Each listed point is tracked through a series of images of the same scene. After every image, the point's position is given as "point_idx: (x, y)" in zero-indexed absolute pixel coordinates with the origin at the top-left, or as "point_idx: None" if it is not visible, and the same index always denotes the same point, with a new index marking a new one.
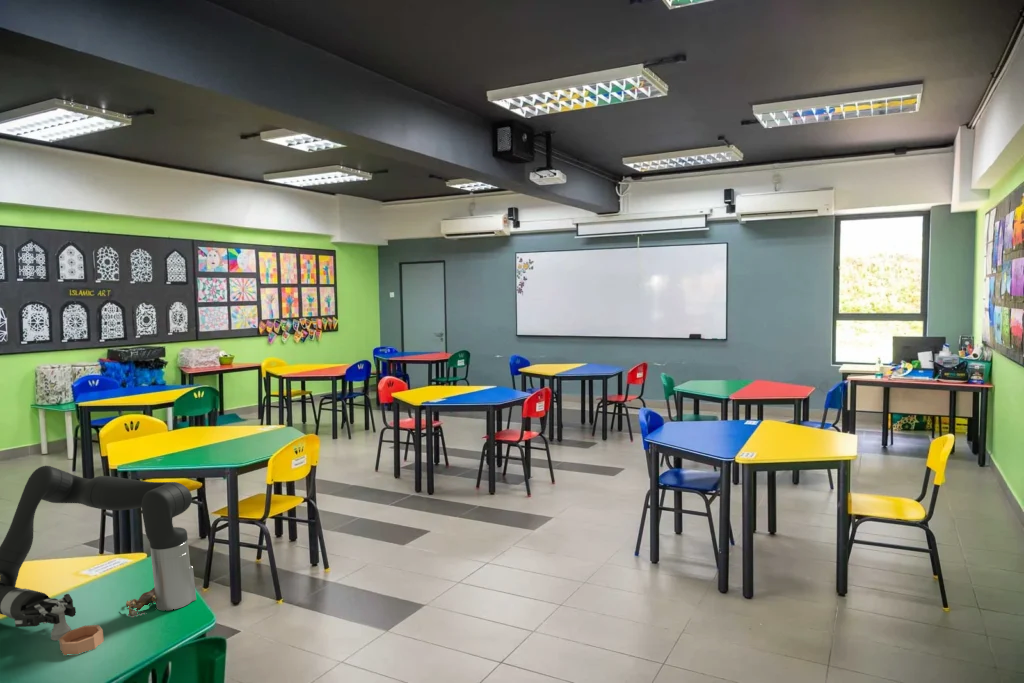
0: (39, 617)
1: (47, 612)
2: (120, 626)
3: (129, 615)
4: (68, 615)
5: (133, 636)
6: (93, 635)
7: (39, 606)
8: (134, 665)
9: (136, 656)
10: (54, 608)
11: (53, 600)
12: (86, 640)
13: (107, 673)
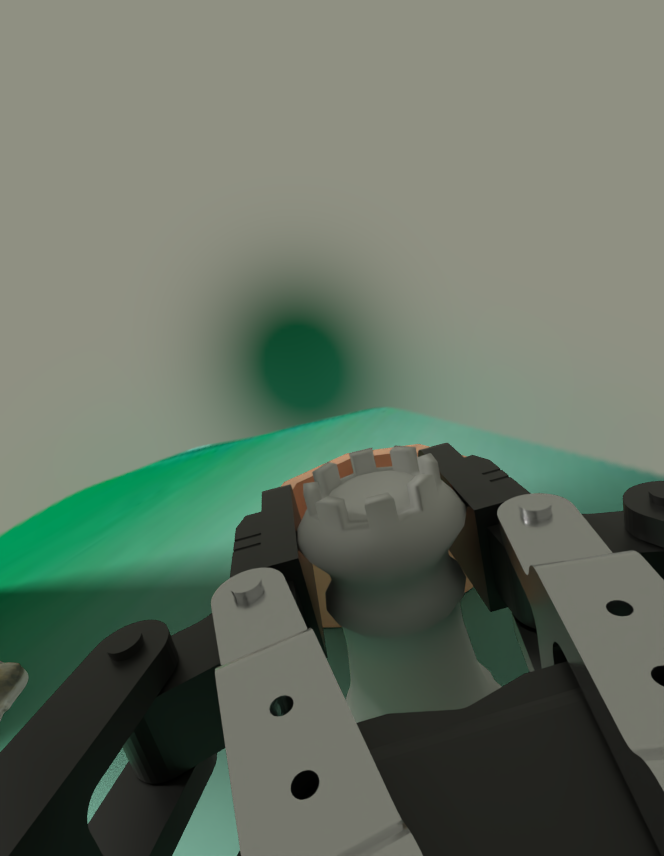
0: (612, 513)
1: (500, 506)
2: (153, 616)
3: (7, 696)
4: (315, 592)
5: (223, 514)
6: (339, 461)
7: (651, 714)
8: (341, 416)
9: (311, 437)
10: (406, 497)
11: (249, 820)
12: (378, 452)
13: (403, 412)
